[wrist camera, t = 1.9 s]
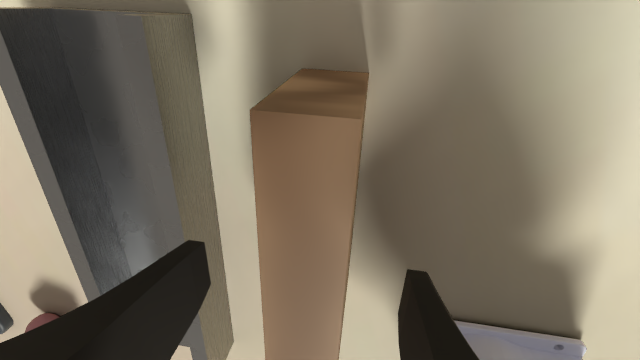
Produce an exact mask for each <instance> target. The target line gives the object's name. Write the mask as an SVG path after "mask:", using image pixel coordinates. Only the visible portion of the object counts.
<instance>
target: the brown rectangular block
mask: <svg viewBox="0 0 640 360" xmlns="http://www.w3.org/2000/svg"><path fill="white" fill-rule="evenodd" d="M368 79H369V73H362V72H347V71H332V70H317V69H301V70H300V71H299V72H297V73H296V74H295V75H293V76H292V77H291V78H290V79H288V80H287V81H286V82H285V83H283V84H282V85H281V86H280V87H278V88H277V89H276V90H274V91H273V92H272V93H271V94H269V95H268V96H267V97H266V98H264V99H263V100H262V101H260V102H259V103H258V104H257V105H255V106H254V107H253V108H252V109H250V122H251V138H252V154H253V170H254V186H255V202H256V218H257V233H258V249H259V265H260V281H261V297H262V313H263V328H264V344H265V360H338V359H339V351H340V342H341V334H342V325H343V317H344V308H345V300H346V291H347V283H348V274H349V264H350V255H351V245H352V235H353V225H354V216H355V206H356V196H357V186H358V177H359V167H360V157H361V147H362V138H363V128H364V118H365V108H366V99H367V89H368Z"/></svg>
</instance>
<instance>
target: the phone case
mask: <svg viewBox="0 0 640 360" xmlns="http://www.w3.org/2000/svg"><path fill="white" fill-rule="evenodd" d="M12 325H13V319H12V318H11V316H10V315H9V314H8V312H7V311H6V310H5V308H4V307H3V306H2V304H1V303H0V334H3V333H4V332H6V331H7V330H8V329H9V328H10V327H11V326H12Z"/></svg>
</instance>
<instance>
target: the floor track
mask: <svg viewBox="0 0 640 360" xmlns="http://www.w3.org/2000/svg"><path fill="white" fill-rule="evenodd" d="M0 86H1V88H2V91H3V93H4V95H5V98H6V100H7V103H8V105H9V108H10V110H11V113H12V115H13V118H14V120H15V123H16V125H17V127H18V130H19V132H20V135H21V137H22V140H23V142H24V145H25V147H26V150H27V152H28V154H29V157H30V159H31V162H32V164H33V167H34V169H35V172H36V174H37V177H38V179H39V182H40V184H41V186H42V189H43V191H44V194H45V196H46V199H47V201H48V204H49V206H50V209H51V211H52V214H53V216H54V218H55V221H56V223H57V226H58V228H59V231H60V233H61V236H62V238H63V241H64V243H65V246H66V248H67V250H68V253H69V255H70V258H71V260H72V263H73V265H74V268H75V270H76V273H77V275H78V277H79V280H80V282H81V285H82V287H83V290H84V292H85V295H86V297H87V300H88V302H90V301H92V300H94V299H95V298H97V297H99V296H101V295H103V294H104V293H106V292H108V291H109V290H111V289H113V288H114V287H116V286H117V285H119V284H121V283H122V282H124V281H126V280H127V279H129V278H131V277H132V276H134V275H136V274H137V273H139V272H140V271H142V270H143V269H145V268H146V267H148V266H149V265H151V264H152V263H154V262H155V261H157V260H158V259H160V258H161V257H163V256H164V255H166V254H167V253H169V252H170V251H172V250H173V249H175V248H177V247H178V246H180V245H181V244H183V243H184V242H186V241H188V240H193V241H201V242H204V243H205V249H206V255H207V261H208V268H209V274H210V280H211V285H210V288H209V290H208V292H207V295H206V297H205V299H204V301H203V304H202V306H201V308H200V310H199V312H198V314H197V315H196V317H195V319H194V320H193V322H192V324H191V326H190V327H189V329H188V331H187V332H186V334H185V336H184V337H183V339H182V341H181V342H180V344H179V345H181V346H187V347H190V349H191V354H192V358H193V360H226V358H227V356H228V353H229V351H230V349H231V347H232V344H233V342H234V341H233V333H232V325H231V318H230V310H229V302H228V294H227V287H226V279H225V271H224V263H223V256H222V248H221V240H220V232H219V225H218V217H217V209H216V201H215V194H214V186H213V178H212V171H211V163H210V155H209V147H208V140H207V132H206V124H205V116H204V109H203V101H202V93H201V85H200V78H199V70H198V62H197V54H196V47H195V39H194V31H193V24H192V16H191V14H179V13H158V12H137V11H116V10H95V9H74V8H53V7H0Z"/></svg>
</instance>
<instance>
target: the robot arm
mask: <svg viewBox="0 0 640 360" xmlns="http://www.w3.org/2000/svg"><path fill="white" fill-rule="evenodd" d="M210 285H211V280H210V274H209V268H208V261H207V255H206V249H205V243H204V242H201V241H193V240H188V241H186V242H184V243H183V244H181V245H180V246H178V247H177V248H175V249H173V250H172V251H170V252H169V253H167V254H166V255H164V256H163V257H161V258H160V259H158V260H157V261H155V262H154V263H152V264H151V265H149V266H148V267H146V268H145V269H143V270H142V271H140V272H139V273H137V274H136V275H134V276H132V277H131V278H129V279H127V280H126V281H124V282H122V283H121V284H119V285H117V286H116V287H114V288H113V289H111V290H109V291H108V292H106V293H104V294H103V295H101V296H99V297H97V298H95V299H94V300H92V301H90V302H88V303H86V304H84V305H82V306H80V307H79V308H77V309H75V310H73V311H71V312H69V313H67V314H65V315H63V316H61V317H59V318H56V319H54V320H52V321H50V322H48V323H45V324H43V325H41V326H39V327H37V328H34V329H32V330H30V331H28V332H26V333H23V334H21V335H19V336H16V337H14V338H12V339H9V340H7V341H4V342H2V343H0V360H170V359H171V357H172V355H173V354H174V352H175V350H176V349H177V347H178V345H179V344H180V342H181V341H182V339H183V337H184V336H185V334H186V332H187V331H188V329H189V327H190V326H191V324H192V322H193V320H194V319H195V317H196V315H197V314H198V312H199V310H200V308H201V306H202V304H203V301H204V299H205V297H206V295H207V292H208V290H209V288H210ZM398 333H399V349H400V358H401V360H583V359H582V357H583V355H584V354H585V352H586V350H587V348H586V346H585V344H584V343H583V342H582V341H581V340H578V339H572V338H566V337H559V336H553V335H546V334H540V333H533V332H527V331H520V330H513V329H507V328H500V327H494V326H487V325H481V324H474V323H468V322H461V321H455V320H453V319H452V317H451V315H450V314H449V312H448V310H447V308H446V307H445V305H444V303H443V301H442V300H441V298H440V296H439V294H438V292H437V290H436V289H435V287H434V285H433V283H432V281H431V279H430V277H429V275H428V274H427V272H424V271H416V270H409V269H407V273H406V278H405V283H404V288H403V292H402V297H401V302H400V306H399V311H398Z"/></svg>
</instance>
